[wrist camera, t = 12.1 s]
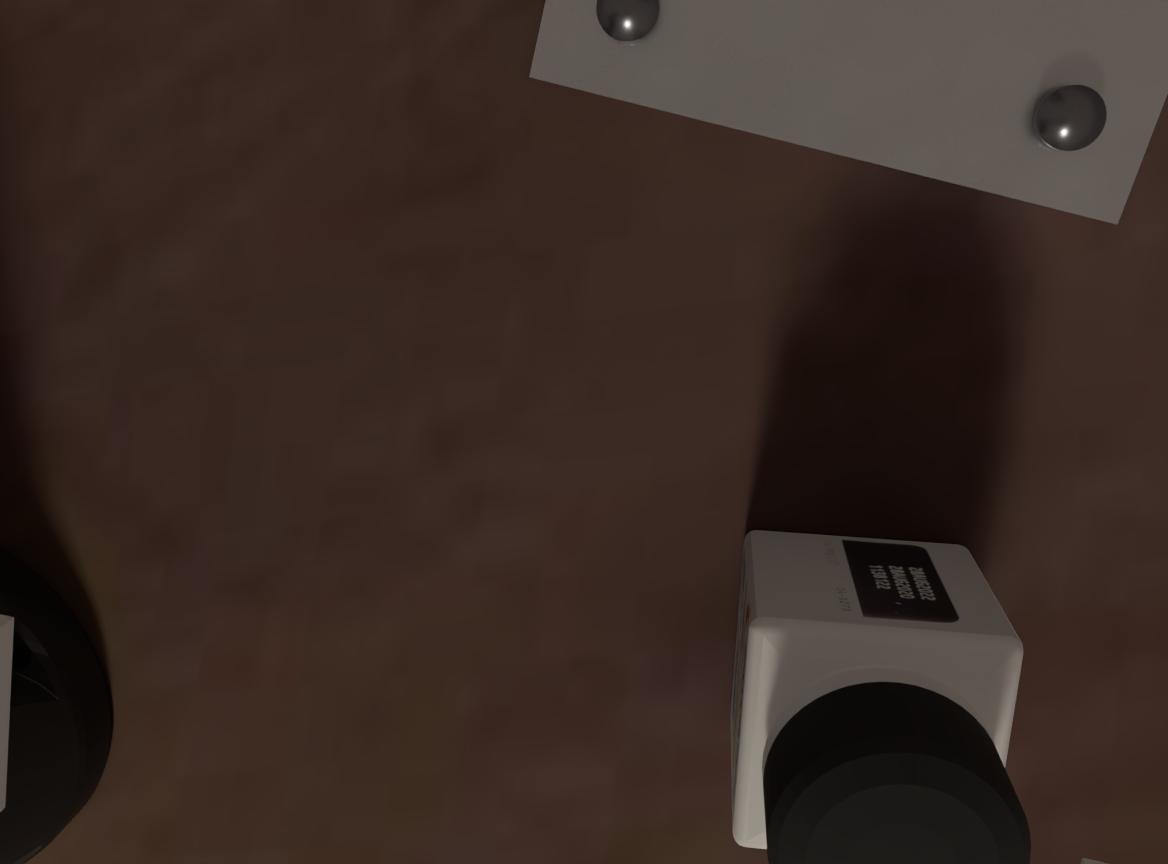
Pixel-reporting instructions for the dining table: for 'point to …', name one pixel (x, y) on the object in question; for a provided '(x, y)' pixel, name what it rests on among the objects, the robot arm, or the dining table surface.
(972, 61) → the flange
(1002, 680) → the container
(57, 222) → the dining table surface
